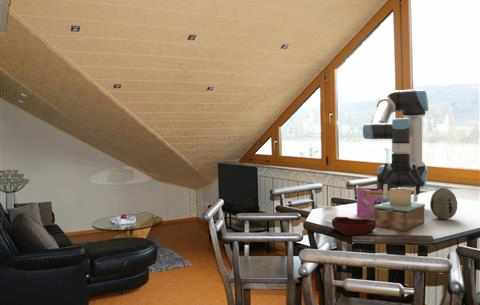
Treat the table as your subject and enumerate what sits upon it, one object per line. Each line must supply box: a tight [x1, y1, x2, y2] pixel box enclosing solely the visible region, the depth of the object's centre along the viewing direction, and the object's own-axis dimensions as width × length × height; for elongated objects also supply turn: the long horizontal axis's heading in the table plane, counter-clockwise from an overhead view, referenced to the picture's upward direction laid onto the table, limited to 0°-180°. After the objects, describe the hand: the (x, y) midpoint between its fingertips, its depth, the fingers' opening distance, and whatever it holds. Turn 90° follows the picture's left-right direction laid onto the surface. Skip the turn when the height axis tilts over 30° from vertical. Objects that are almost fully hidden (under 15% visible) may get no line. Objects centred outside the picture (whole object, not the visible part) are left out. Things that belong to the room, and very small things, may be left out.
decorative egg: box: [429, 187, 458, 220], centre depth 203 cm, size 12×12×15 cm
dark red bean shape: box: [331, 216, 377, 237], centre depth 178 cm, size 18×16×5 cm
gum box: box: [356, 187, 390, 219], centre depth 211 cm, size 24×8×14 cm, turn 79°
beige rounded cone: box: [390, 187, 412, 206], centre depth 191 cm, size 9×9×7 cm
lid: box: [373, 202, 426, 212], centre depth 191 cm, size 15×23×2 cm, turn 138°
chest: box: [374, 206, 425, 233], centre depth 191 cm, size 14×22×8 cm, turn 139°
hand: (400, 200), depth 191 cm, fingers open, 13 cm apart
